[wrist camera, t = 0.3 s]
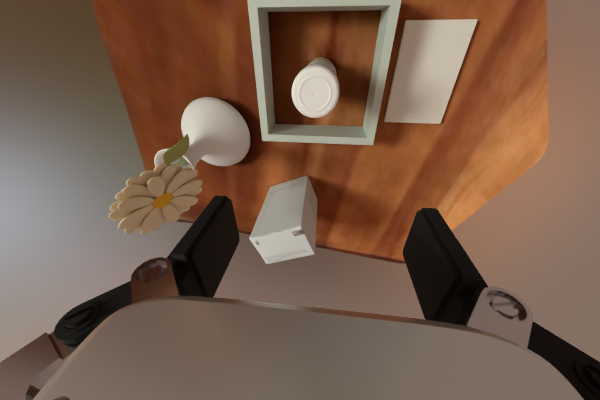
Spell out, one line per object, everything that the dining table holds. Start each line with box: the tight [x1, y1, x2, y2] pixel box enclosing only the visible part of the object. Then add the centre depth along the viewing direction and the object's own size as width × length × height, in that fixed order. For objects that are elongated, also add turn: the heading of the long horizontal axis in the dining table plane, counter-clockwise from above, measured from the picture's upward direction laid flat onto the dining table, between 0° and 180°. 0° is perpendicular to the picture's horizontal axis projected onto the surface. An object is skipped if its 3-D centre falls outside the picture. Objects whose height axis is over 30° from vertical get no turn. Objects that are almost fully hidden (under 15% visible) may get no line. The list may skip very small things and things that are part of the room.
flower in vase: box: [109, 97, 250, 234], centre depth 28 cm, size 13×11×25 cm
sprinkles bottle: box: [292, 57, 339, 118], centre depth 26 cm, size 5×5×14 cm
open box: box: [248, 0, 401, 145], centre depth 30 cm, size 16×16×5 cm
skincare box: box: [249, 176, 318, 264], centre depth 38 cm, size 8×6×15 cm
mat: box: [384, 19, 478, 124], centre depth 30 cm, size 12×8×1 cm, turn 0°
